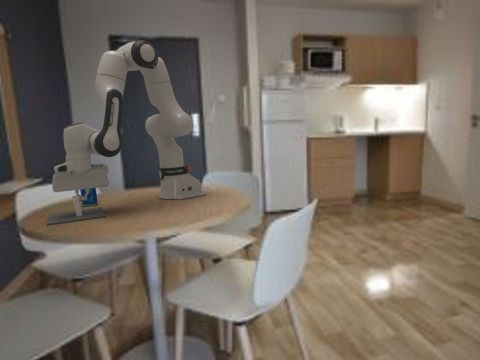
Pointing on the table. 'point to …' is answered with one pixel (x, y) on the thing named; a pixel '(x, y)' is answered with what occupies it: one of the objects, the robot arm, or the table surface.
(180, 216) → the table surface
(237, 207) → the table surface
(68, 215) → the mat
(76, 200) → the tile
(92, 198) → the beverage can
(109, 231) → the table surface
